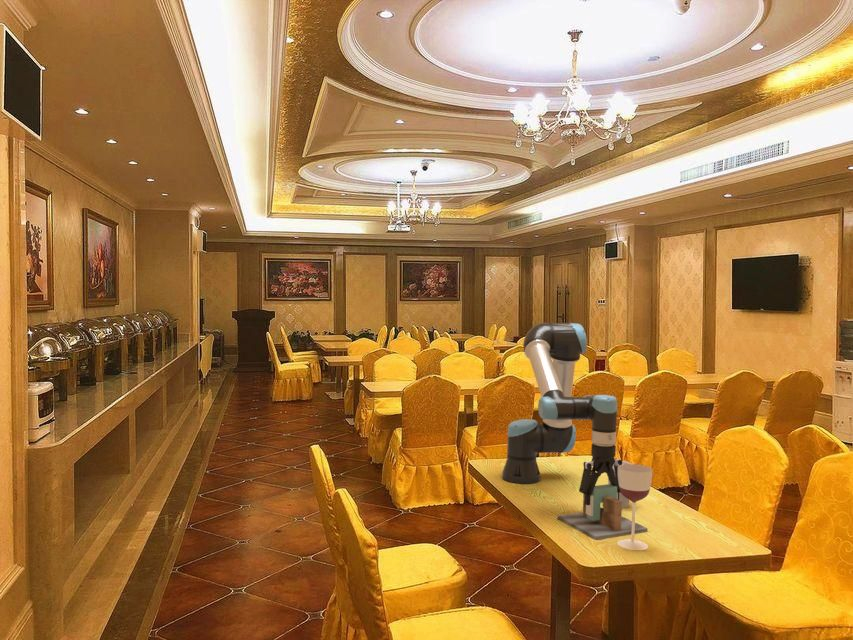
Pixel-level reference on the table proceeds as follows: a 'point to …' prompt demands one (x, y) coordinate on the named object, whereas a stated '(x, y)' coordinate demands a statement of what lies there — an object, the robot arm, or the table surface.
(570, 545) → the table surface
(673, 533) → the table surface
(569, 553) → the table surface
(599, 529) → the joint base
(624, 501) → the coffee cup
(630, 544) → the wineglass
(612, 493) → the green arch block
